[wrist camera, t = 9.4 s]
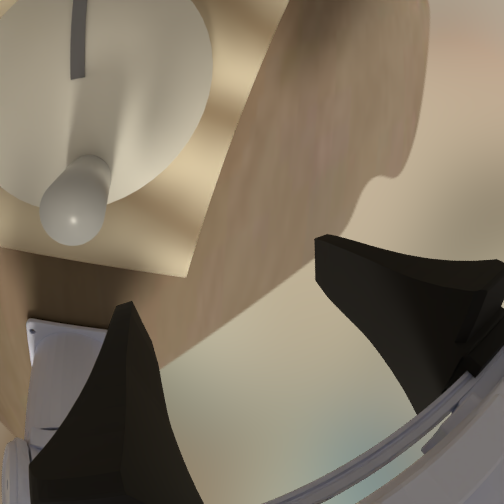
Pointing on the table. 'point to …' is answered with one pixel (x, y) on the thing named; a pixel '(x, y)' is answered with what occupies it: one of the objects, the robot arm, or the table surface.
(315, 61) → the table surface
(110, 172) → the tuning knob
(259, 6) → the dial board
